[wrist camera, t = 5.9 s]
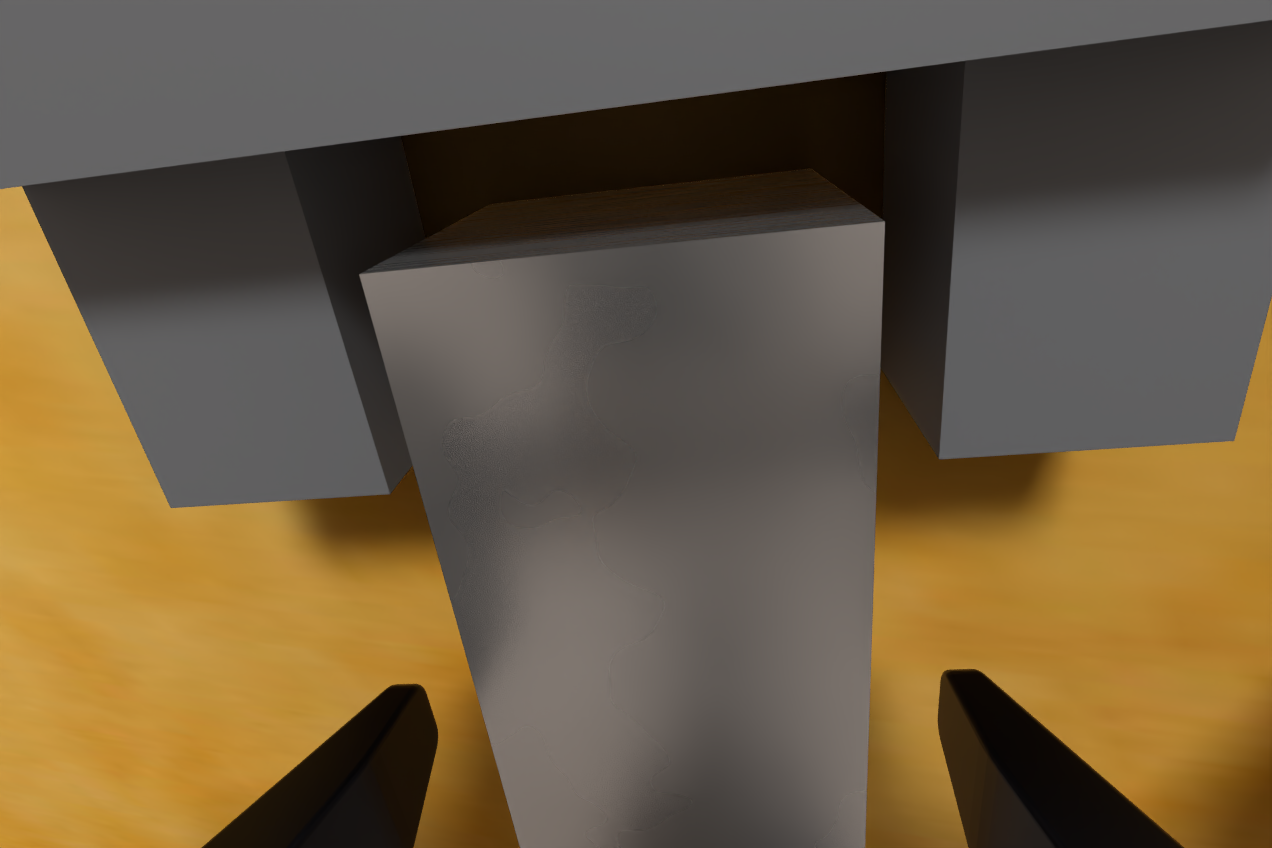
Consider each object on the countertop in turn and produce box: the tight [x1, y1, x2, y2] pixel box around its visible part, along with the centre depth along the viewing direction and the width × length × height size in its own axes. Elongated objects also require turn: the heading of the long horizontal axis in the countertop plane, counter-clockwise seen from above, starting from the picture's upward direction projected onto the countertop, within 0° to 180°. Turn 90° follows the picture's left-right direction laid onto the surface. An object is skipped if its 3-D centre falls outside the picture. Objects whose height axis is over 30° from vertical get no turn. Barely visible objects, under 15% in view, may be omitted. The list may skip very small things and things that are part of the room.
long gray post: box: [359, 168, 885, 848], centre depth 10 cm, size 12×4×4 cm, turn 7°
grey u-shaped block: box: [0, 0, 1272, 508], centre depth 8 cm, size 6×12×4 cm, turn 97°
